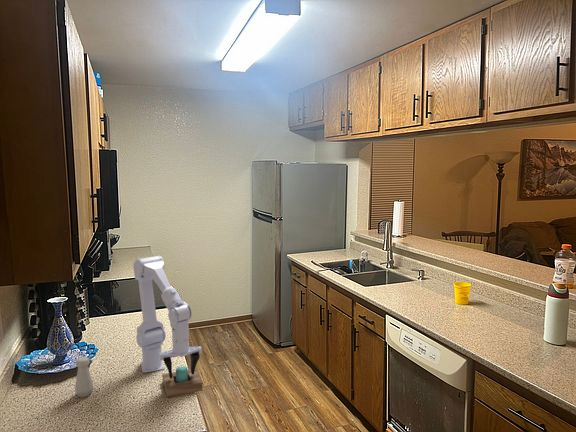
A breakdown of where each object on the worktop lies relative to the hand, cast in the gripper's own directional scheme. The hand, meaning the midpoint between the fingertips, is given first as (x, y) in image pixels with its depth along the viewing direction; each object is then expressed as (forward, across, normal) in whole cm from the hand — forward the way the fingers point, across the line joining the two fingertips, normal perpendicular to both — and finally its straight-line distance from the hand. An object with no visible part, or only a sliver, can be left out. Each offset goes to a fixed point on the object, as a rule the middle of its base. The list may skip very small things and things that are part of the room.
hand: (181, 375), depth 158 cm
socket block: (+4, 0, 0) cm, 4 cm away
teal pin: (+4, 0, 0) cm, 4 cm away
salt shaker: (+4, -32, +8) cm, 33 cm away
